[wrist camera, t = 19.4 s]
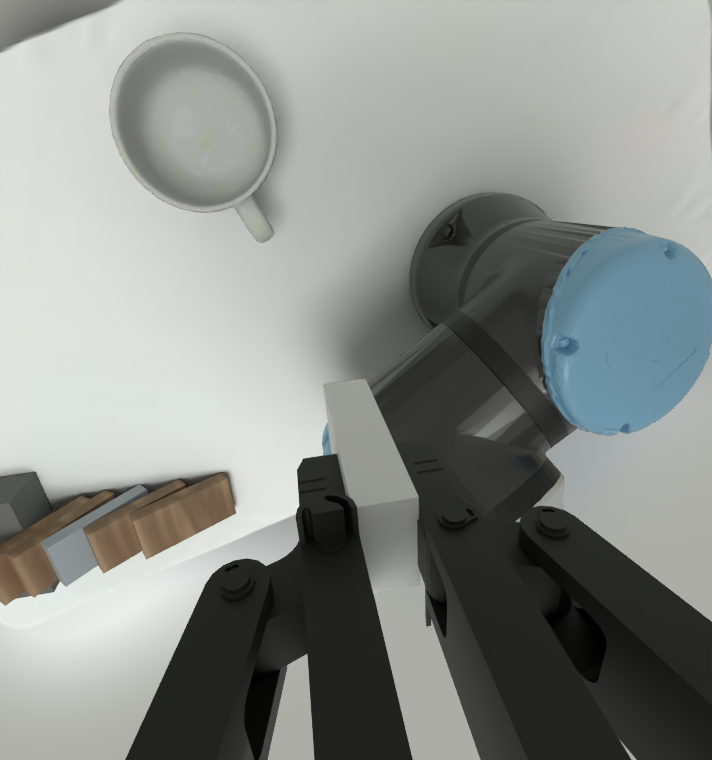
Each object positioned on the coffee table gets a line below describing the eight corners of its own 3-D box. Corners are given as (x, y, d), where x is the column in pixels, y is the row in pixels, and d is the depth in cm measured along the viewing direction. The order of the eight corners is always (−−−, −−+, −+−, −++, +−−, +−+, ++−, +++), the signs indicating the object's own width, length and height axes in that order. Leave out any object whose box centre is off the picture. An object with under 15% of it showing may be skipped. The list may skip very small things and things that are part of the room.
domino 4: (185, 484, 48) (87, 535, 42) (195, 519, 51) (103, 573, 44) (179, 478, 50) (82, 527, 43) (189, 513, 52) (98, 565, 45)
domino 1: (90, 499, 47) (-17, 566, 39) (104, 534, 49) (5, 605, 41) (81, 495, 48) (-26, 560, 40) (95, 530, 50) (-4, 599, 42)
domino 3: (147, 489, 48) (47, 548, 41) (158, 524, 50) (65, 586, 43) (139, 484, 49) (40, 541, 42) (151, 519, 51) (58, 579, 44)
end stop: (35, 471, 46) (9, 502, 42) (73, 556, 51) (53, 591, 47) (-6, 477, 46) (-37, 509, 41) (36, 562, 51) (13, 599, 46)
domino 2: (114, 493, 48) (13, 559, 40) (127, 528, 50) (34, 597, 42) (105, 489, 49) (4, 553, 41) (118, 524, 51) (25, 591, 43)
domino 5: (227, 478, 49) (132, 522, 43) (236, 513, 51) (146, 559, 46) (221, 471, 50) (128, 513, 45) (230, 506, 52) (142, 550, 47)
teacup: (115, 88, 35) (72, 64, 27) (245, 41, 35) (236, 3, 27) (198, 259, 41) (181, 276, 33) (308, 218, 41) (315, 226, 33)
